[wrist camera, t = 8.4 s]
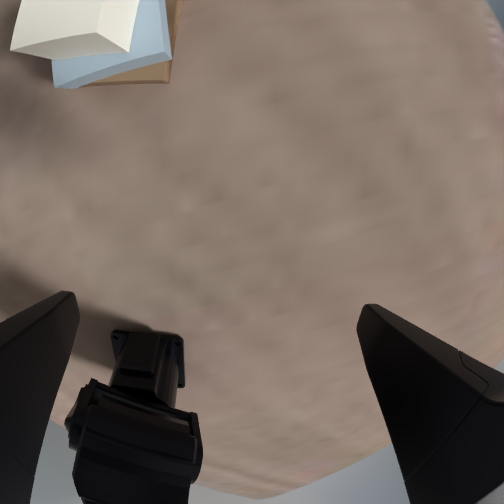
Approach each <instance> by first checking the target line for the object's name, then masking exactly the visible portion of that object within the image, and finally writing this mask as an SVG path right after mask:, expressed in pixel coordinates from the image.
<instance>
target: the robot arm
mask: <svg viewBox="0 0 504 504" xmlns="http://www.w3.org/2000/svg"><path fill="white" fill-rule="evenodd" d="M79 321H80V314H79V309H78V305H77V301H76V297H75V294H74V293H73V292H70V291H60V292H58V293H56V294H54V295H52V296H51V297H49V298H47V299H45V300H43V301H41V302H39V303H37V304H35V305H33V306H31V307H29V308H27V309H25V310H23V311H21V312H19V313H18V314H16V315H14V316H12V317H10V318H8V319H6V320H4V321H3V322H1V323H0V504H30V499H31V493H32V488H33V483H34V478H35V477H34V475H35V472H36V467H37V463H38V458H39V455H40V450H41V447H42V443H43V439H44V435H45V431H46V428H47V424H48V421H49V418H50V414H51V411H52V408H53V405H54V402H55V398H56V395H57V392H58V389H59V386H60V384H61V381H62V378H63V375H64V372H65V369H66V367H67V364H68V361H69V357H70V354H71V350H72V346H73V342H74V339H75V335H76V332H77V328H78V325H79ZM357 334H358V338H359V342H360V346H361V350H362V353H363V357H364V361H365V365H366V369H367V372H368V375H369V378H370V380H371V383H372V386H373V388H374V391H375V394H376V397H377V400H378V402H379V405H380V408H381V411H382V414H383V417H384V420H385V423H386V426H387V428H388V431H389V434H390V438H391V441H392V444H393V447H394V450H395V453H396V456H397V459H398V462H399V466H400V469H401V472H402V476H403V479H404V483H405V486H406V490H407V494H408V497H409V501H410V504H504V374H503V373H501V372H499V371H497V370H495V369H493V368H491V367H489V366H487V365H485V364H483V363H481V362H479V361H478V360H476V359H474V358H472V357H470V356H468V355H467V354H465V353H463V352H461V351H458V349H456V348H454V347H453V346H451V345H449V344H447V343H446V342H444V341H442V340H440V339H439V338H437V337H435V336H433V335H431V334H430V333H428V332H426V331H424V330H423V329H421V328H419V327H417V326H415V325H414V324H412V323H410V322H408V321H407V320H405V319H403V318H401V317H399V316H398V315H396V314H394V313H392V312H390V311H389V310H387V309H385V308H383V307H381V306H380V305H378V304H365V305H364V306H363V308H362V311H361V314H360V317H359V320H358V323H357ZM115 335H116V336H115ZM117 336H118V337H117ZM111 341H112V346H113V350H114V355H115V359H116V364H115V367H114V370H113V373H112V376H111V379H110V382H109V385H108V386H107V385H105V384H102V383H100V382H98V380H95V379H93V378H91V380H90V382H89V384H88V385H87V384H86V386H85V387H83V388H81V390H80V392H79V395H78V398H77V400H76V402H75V404H74V406H73V408H72V409H71V411H70V412H69V414H68V415H67V417H66V419H65V423H64V425H65V427H66V429H67V431H68V432H69V434H68V438H69V448H71V449H73V450H75V451H77V453H76V458H75V463H74V467H73V472H72V475H73V479H74V484H75V487H76V489H77V493H78V495H79V497H81V499H82V502H83V504H188V497H189V488H190V484H193V483H194V482H195V481H196V479H197V478H198V475H199V473H200V469H201V465H202V458H203V446H202V440H201V434H200V428H199V422H198V416H197V413H193V412H190V413H189V412H186V411H182V410H178V409H175V402H176V393H177V388H184V387H185V367H184V341H183V339H182V338H181V337H178V336H167V335H156V334H146V333H136V332H127V331H119V330H114V331H112V333H111ZM176 342H179V343H176ZM180 383H181V384H180Z"/></svg>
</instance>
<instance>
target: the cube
mask: <svg viewBox="0 0 504 504" xmlns="http://www.w3.org/2000/svg"><path fill="white" fill-rule="evenodd" d="M138 4H139V0H22V2H21V5H20V9H19V12H18V16H17V20H16V24H15V28H14V32H13V37H12V42H11V47H10V51H15V52H20V53H25V54H30V55H34V56H39V57H43V58H48V59H52V60H62V59H69V58H76V57H83V56H92V55H101V54H113V53H129V50H130V44H131V38H132V33H133V27H134V22H135V17H136V13H137V8H138Z"/></svg>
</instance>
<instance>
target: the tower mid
mask: <svg viewBox="0 0 504 504" xmlns="http://www.w3.org/2000/svg"><path fill="white" fill-rule="evenodd" d="M51 60H52V59H51ZM168 60H172V55H171V47H170V39H169V31H168V23H167V14H166V5H165V0H139V4H138V8H137V13H136V17H135V22H134V27H133V33H132V38H131V44H130V50H129V53H113V54H101V55H92V56H83V57H76V58H69V59H62V60H52V72H53V82H54V88H65V89H75V88H78V87H80V86H83V85H86V84H88V83H91V82H94V81H97V80H100V79H103V78H106V77H109V76H112V75H115V74H118V73H122V72H125V71H129V70H132V69H136V68H139V67H143V66H147V65H151V64H155V63H159V62H163V61H168Z"/></svg>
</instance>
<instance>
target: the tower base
mask: <svg viewBox="0 0 504 504" xmlns="http://www.w3.org/2000/svg"><path fill="white" fill-rule="evenodd" d="M165 5H166V14H167V23H168V31H169V39H170V47H171V55H172V59H173V52H174V45H175V39H176V33H177V27H178V21H179V16H180V10H181V5H182V0H165ZM171 67H172V60H168V61H163V62H159V63H155V64H151V65H147V66H143V67H139V68H136V69H132V70H129V71H125V72H122V73H118V74H115V75H112V76H109V77H106V78H103V79H100V80H97V81H94V82H91V83H88V84H86V85H83V86H80V87H88V86H100V85H115V84H141V83H169V82H170V74H171Z"/></svg>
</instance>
